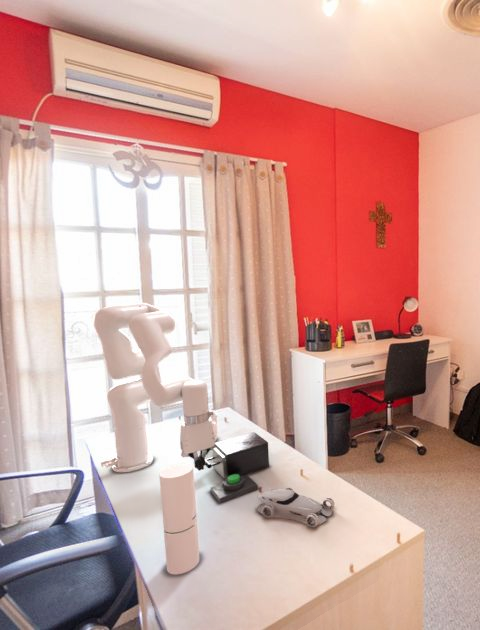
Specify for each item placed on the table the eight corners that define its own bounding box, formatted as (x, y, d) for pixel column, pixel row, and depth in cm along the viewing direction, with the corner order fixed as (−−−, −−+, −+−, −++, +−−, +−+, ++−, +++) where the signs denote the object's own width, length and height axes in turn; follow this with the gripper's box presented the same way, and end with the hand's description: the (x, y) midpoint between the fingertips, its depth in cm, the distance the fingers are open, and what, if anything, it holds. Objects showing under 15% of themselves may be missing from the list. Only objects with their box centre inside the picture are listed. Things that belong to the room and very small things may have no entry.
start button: (230, 485, 135) (229, 480, 135) (226, 481, 138) (226, 476, 138) (241, 482, 138) (241, 477, 137) (237, 477, 140) (237, 473, 140)
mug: (191, 441, 175) (189, 416, 174) (211, 434, 182) (210, 410, 181) (205, 449, 168) (204, 422, 167) (226, 441, 175) (225, 416, 174)
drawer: (210, 483, 141) (209, 461, 140) (200, 471, 149) (199, 450, 148) (262, 466, 153) (261, 445, 152) (250, 455, 161) (249, 436, 160)
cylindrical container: (204, 553, 108) (198, 463, 105) (190, 574, 101) (183, 477, 98) (176, 554, 108) (169, 463, 105) (160, 574, 101) (152, 478, 98)
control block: (220, 503, 131) (219, 493, 130) (210, 491, 137) (210, 481, 137) (257, 489, 139) (257, 479, 139) (247, 479, 145) (246, 469, 145)
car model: (317, 530, 118) (317, 514, 117) (248, 513, 126) (247, 497, 125) (337, 508, 128) (337, 493, 128) (272, 494, 136) (271, 479, 136)
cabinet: (228, 480, 144) (226, 454, 143) (216, 467, 153) (214, 443, 152) (269, 466, 154) (268, 442, 153) (255, 455, 163) (254, 431, 162)
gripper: (216, 409, 149) (219, 458, 151) (168, 420, 139) (172, 472, 141) (223, 415, 143) (226, 465, 146) (174, 426, 133) (178, 480, 135)
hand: (200, 468), depth 143 cm, fingers closed
